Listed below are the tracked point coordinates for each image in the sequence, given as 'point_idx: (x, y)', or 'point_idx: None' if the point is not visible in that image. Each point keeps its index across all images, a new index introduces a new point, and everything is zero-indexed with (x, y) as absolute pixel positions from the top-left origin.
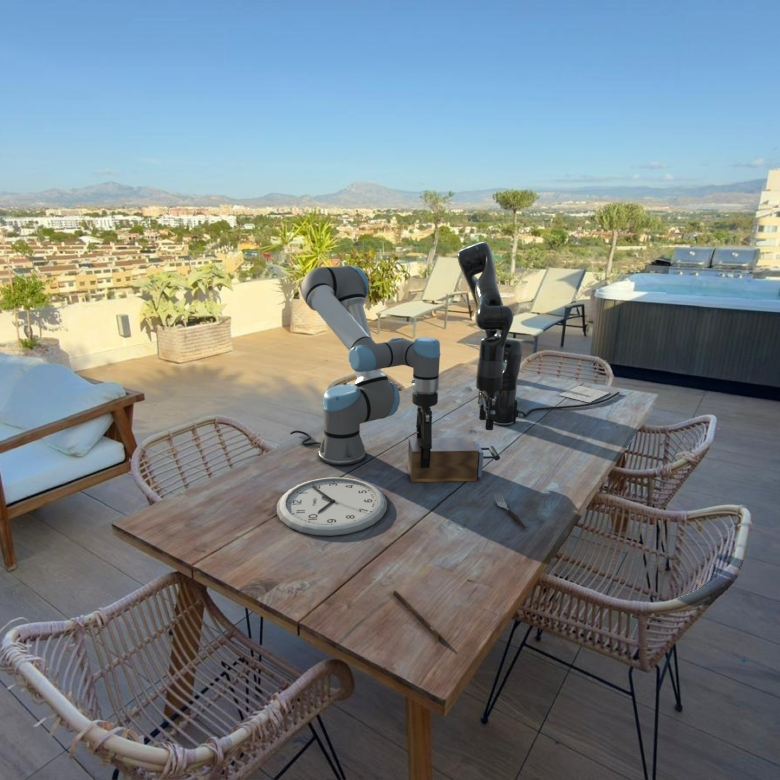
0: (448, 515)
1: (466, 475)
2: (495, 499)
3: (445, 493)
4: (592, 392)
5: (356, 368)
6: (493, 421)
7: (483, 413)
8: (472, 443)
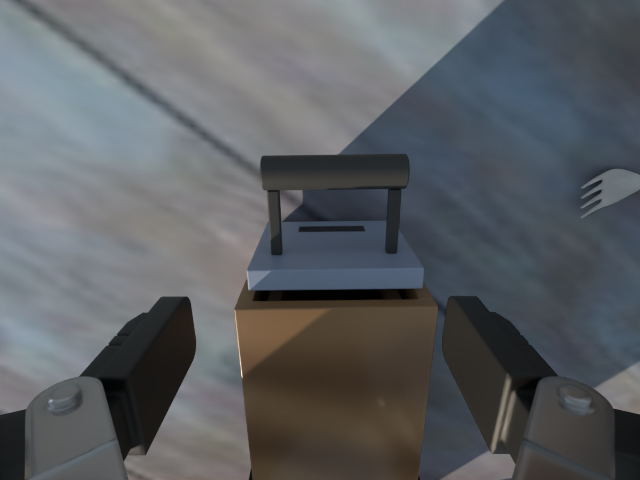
0: (610, 363)
1: None
2: (593, 211)
3: None
4: None
5: None
6: (518, 350)
7: (163, 367)
8: (329, 319)
